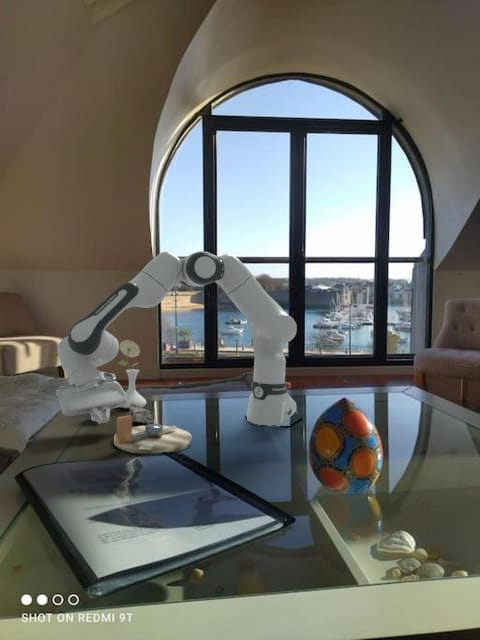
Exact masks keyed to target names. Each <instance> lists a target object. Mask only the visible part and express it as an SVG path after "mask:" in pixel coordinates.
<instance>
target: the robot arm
mask: <svg viewBox="0 0 480 640" xmlns="http://www.w3.org/2000/svg"><path fill="white" fill-rule="evenodd" d="M178 283H180V284H181V285H185V286H186V287H190V288H200V287H205V286H207V285H210V284H213V283H216V285H219V286H220V287H221V289H222V291H223V292H224V293H225V294H226V295H227V297H228V298H229V299H230V301H231V302H232V303H233V305H235V307H236V308H237V309H238V311H239V312H240V313H241V314H242V315H244V316H245V317H246V318H247V320H249V321H250V322H249V328H250V331H251V338H252V347H253V359H254V361H253V362H254V363H253V364H254V365H253V380H251V385H250V386H251V393H250V394H249V395H248V396H249V398H248V404H247V409H246V410H247V411H246V413H247V420H248V421H249V422H248V421H247V420H246V421H247V422H248V423H250V422H251V423H250V424H252V423H253V425H256V424H257V426H261V425H268V426H267V427H271V426H270V425H278V424H283V425H286V424H287V423H285V421H286V420H287V419H288V418H289V417H291V416H292V415H293V414H294V413H295V412H296V413H297V403H296V401H295V400H294V399H293V398H292V397H291V396H290V394H289V393H288V389H291V387H292V383H291V382H288V381H287V382H286V366H287V365H286V363H287V361H286V357H285V354H284V349H283V344H288V343H289V342H291V341H292V340H293V339H294V338H295V337H296V334H297V330H298V328H297V323H296V321H295V319H294V317H292V316H291V315H289V314H288V313H287V312H286V311H285V310H284V309H283V307H282V306H281V305H279V304H278V302H277V301H276V300H275V299H274V298H273V297H271V296H270V295H269V294H268V292H266V290H265V289H264V287H262V285H261V284H260V283H259V281H258V280H257V279H256V277H255V276H254V275H253V274H252V272H251V271H250V269H249V268H248V267H247V266H246V265H245V264H244V263H243V262H242V261H241V260H240V259H239V258H238V257H236V256H235V255H234V254H233V253H225V254H222V255H220V256H217V255H214V254H213V253H210V252H208V251H202V250H201V251H197V252H193V253H191V254H188V255H187V256H185V257H184V258H180V257H178V255H176V254H175V253H173V252H170V251H161V252H160V253H159V254H157V255H155V257H154V258H152V259H151V260H150V261H149V262H147V264H146V265H144V267H143V268H142V270H140V272H139V273H137V274H136V275H135V277H134V278H133V279H131V280H129V281H128V282H125V283H123V284H121V285H120V286H119V287H117V288H116V289H115V290H114V291H113V292H111V293H110V294H109V295H108V296H107V297H105V299H104V300H103V301H102V302H100V303H99V304H98V306H96V307H95V309H93V310H92V311H91V312H90V313H89V314H87V315H86V316H85V317H83V318H81V319H79V320H78V321H76V322H75V323H74V324H73V325H72V326H71V327H70V329H69V332H68V335H67V336H66V337H64V338H62V339H61V340H60V342H59V343H58V345H57V350H56V351H57V357H58V360H59V363H60V365H61V368H62V370H63V371H64V373H65V374H66V376H67V381H68V383H69V384H68V385H61V386H59V387H58V388H56V389H55V394H56V397H57V398H58V402H59V406H60V410H61V412H62V414H63V415H64V416H66V417H72V416H77V415H83V414H88V413H89V415H90V417H91V416H92V417H93V418H95V419H96V420H97V422H96V423H97V424H98V425H101V424H105V423H108V422H109V421H110V416H109V417H108V409H110V410H112V409H116V408H117V409H118V408H122V406H123V405H124V404H125V402H126V401H127V396H126V394H125V390H124V389H123V387H122V385H121V384H120V382H118V381H116V380H117V377H116V375H115V373H111V372H110V373H109V372H106V371H102V370H99V369H97V368H100V367H102V366H104V365H107V364H108V363H110V362H111V361H113V360H114V359H115V358H116V357H117V356H118V354H119V351H120V348H119V347H120V343H119V341H118V339H117V338H116V337H115V336H114V335H113V334H111V333H110V332H109V331H107V330H106V329H107V328H108V327H109V325H111V323H113V321H115V320H116V319H117V318H118V317H119V316H120V315H121V314H122V313H123V312H124V311H126V310H128V309H129V308H144V309H145V308H146V309H151V308H154V307H156V306H157V305H159V304H160V303H161V302H162V301H163V300H164V299H165V298H166V296H168V294H169V293H170V292H171V290H172V289H173V288H174V287H175V286H176V285H177V284H178ZM97 411H101V413H103V415H100V414H99V413H98V412H97Z"/></svg>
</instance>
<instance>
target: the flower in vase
mask: <svg viewBox="0 0 480 640" xmlns="http://www.w3.org/2000/svg"><path fill="white" fill-rule="evenodd" d="M119 350H120V352H122V355H124V356H126V360H123V359H122V360H120V361H119V362H118V365H120V366H123V367H126V366H128V368H129V369H126V370H125V372H126V374H127V376H128V389H127V390H126V392H125V391H124V392H125V394H126V396H127V401H126V402H125V404H124V405H123V406H122V407H121V408H123V409H130V408H129V406H130V405H131V404H135V405H138V406H143V407H144V406H146V405H147V400H146V398H144V397H143V396H142V395H141V394H140V393H139V392H137V390H136V379H137V376H138V373H139V372H140V369H132V367H134V366H137V365H138V364H139V363H140V361H138V362H136V363H134V364H132V365H131V366H130V364H129V362H128V358H136V357H138V356H140V352H141V348H140V347H139V344H138V343H137V342H134V340H130V339H125V340H123V341H121V342H120V343H119Z"/></svg>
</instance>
